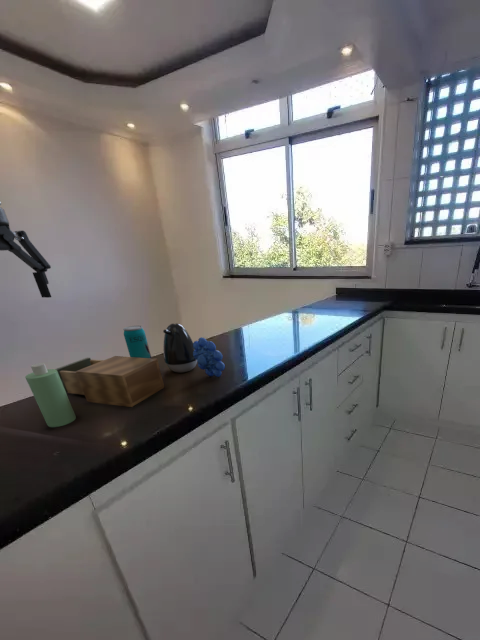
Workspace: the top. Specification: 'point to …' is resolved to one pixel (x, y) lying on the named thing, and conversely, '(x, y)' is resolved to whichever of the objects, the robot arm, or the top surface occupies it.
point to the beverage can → (136, 342)
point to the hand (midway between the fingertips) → (21, 301)
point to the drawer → (74, 375)
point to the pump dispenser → (178, 349)
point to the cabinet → (121, 380)
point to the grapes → (208, 357)
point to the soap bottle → (50, 395)
